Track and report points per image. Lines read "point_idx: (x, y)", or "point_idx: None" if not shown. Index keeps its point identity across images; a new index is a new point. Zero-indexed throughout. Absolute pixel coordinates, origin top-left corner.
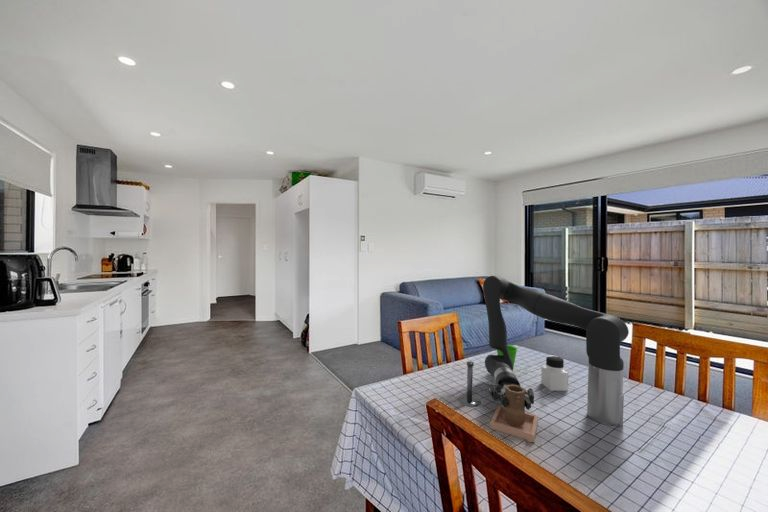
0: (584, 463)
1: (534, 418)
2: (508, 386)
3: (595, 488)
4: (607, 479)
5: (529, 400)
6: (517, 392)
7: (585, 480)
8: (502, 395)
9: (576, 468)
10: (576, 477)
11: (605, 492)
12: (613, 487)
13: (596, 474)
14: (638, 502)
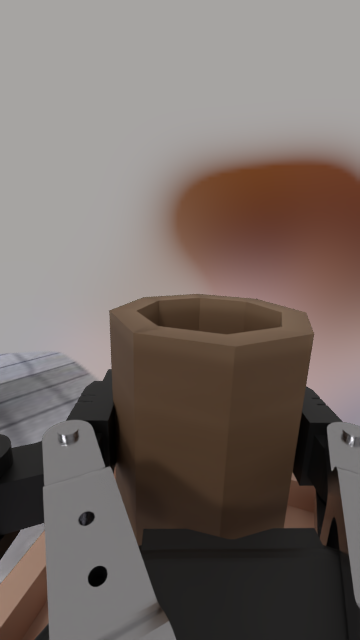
0: (13, 407)
1: (12, 603)
2: (284, 324)
3: (64, 364)
4: (9, 379)
5: (74, 410)
6: (199, 295)
7: (68, 373)
8: (328, 421)
9: (58, 392)
10: (83, 376)
11: (52, 361)
12: (20, 368)
13: (21, 385)
14: (9, 355)
